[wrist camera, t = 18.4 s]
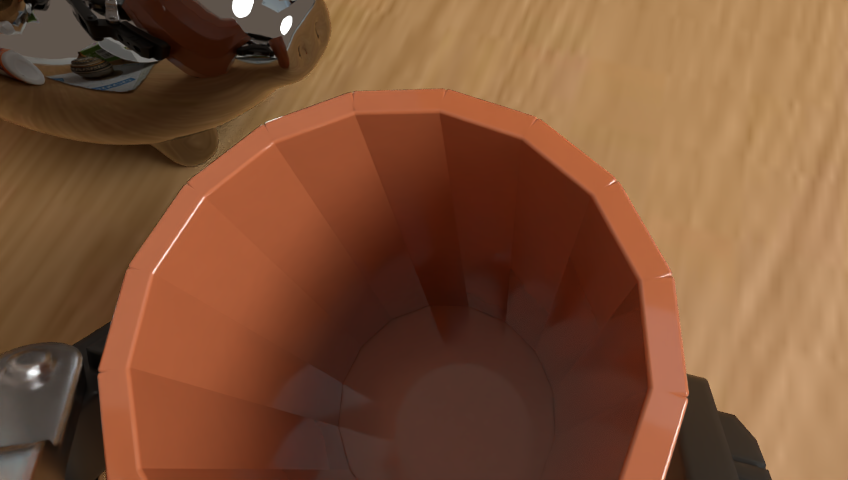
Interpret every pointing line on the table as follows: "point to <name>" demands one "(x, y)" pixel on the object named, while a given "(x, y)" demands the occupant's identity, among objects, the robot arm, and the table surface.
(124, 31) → the piggy bank
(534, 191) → the cup
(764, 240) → the table surface
